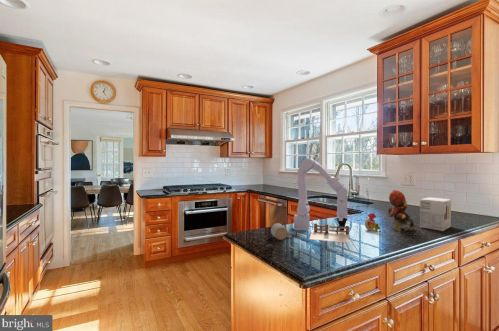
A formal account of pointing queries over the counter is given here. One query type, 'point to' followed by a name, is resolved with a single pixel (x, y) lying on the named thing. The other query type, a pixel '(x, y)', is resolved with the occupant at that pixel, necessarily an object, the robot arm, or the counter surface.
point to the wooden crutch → (339, 230)
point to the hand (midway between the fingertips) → (342, 230)
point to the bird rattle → (371, 222)
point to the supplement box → (435, 213)
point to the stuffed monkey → (399, 210)
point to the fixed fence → (321, 228)
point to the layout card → (329, 236)
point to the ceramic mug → (279, 231)
